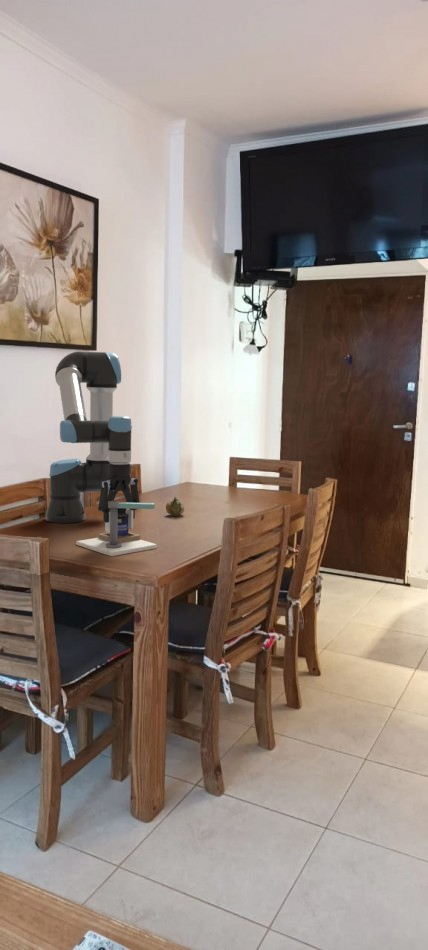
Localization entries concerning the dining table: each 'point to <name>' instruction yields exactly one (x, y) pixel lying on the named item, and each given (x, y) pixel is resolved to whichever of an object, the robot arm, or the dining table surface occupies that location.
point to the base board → (116, 551)
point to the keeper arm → (130, 505)
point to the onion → (175, 507)
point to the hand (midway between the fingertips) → (119, 530)
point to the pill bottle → (122, 523)
